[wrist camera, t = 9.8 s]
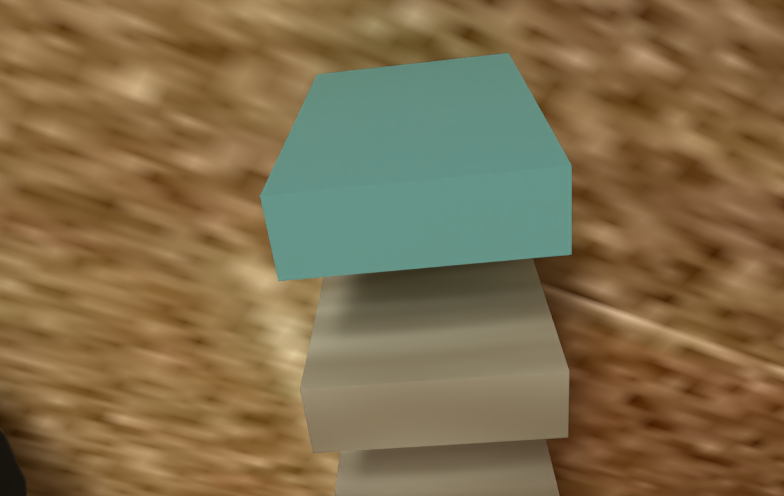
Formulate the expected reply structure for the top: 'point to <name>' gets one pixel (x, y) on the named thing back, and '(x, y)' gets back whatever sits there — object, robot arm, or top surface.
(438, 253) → the teal domino
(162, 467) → the top surface
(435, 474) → the domino
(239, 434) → the top surface
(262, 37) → the top surface
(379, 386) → the domino
